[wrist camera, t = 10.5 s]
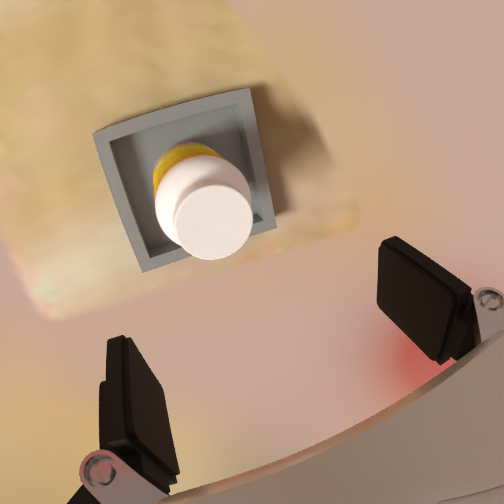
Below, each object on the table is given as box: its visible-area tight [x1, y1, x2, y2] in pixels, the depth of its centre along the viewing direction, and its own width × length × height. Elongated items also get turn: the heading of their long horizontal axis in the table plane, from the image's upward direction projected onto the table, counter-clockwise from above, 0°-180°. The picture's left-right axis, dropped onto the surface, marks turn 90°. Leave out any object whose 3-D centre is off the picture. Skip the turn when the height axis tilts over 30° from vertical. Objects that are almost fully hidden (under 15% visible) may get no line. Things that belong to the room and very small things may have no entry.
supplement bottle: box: [153, 141, 253, 260], centre depth 24 cm, size 7×7×13 cm
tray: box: [92, 88, 277, 273], centre depth 29 cm, size 14×14×2 cm
